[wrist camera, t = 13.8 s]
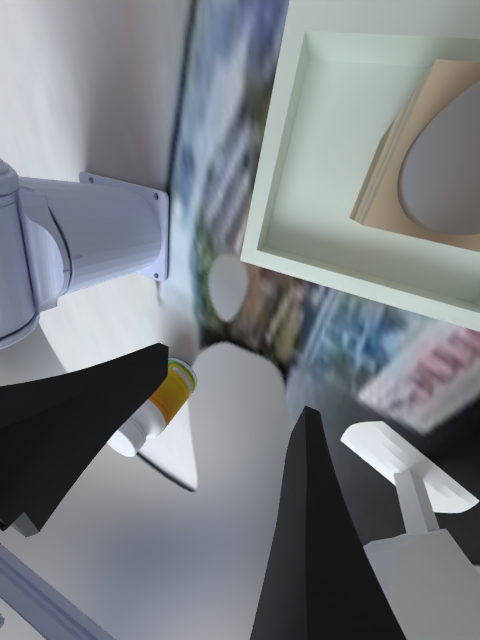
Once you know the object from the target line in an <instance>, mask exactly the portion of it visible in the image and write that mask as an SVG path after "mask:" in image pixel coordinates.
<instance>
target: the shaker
mask: <svg viewBox="0 0 480 640" xmlns="http://www.w3.org/2000/svg"><path fill="white" fill-rule="evenodd" d="M349 218H350V219H352V220H354V221H356V222H358V223H359V224H361V225H363V226H368V227H372V228H376V229H381V230H385V231H389V232H393V233H398V234H402V235H406V236H411V237H415V238H419V239H424V240H428V241H432V242H437V243H441V244H445V245H450V246H454V247H458V248H463V249H467V250H471V251H476V252H480V62H472V61H457V60H442V59H436V60H435V61H434V63H433V64H432V66H431V67H430V69H429V70H428V72H427V73H426V74H425V76H424V77H423V79H422V80H421V82H420V83H419V85H418V86H417V88H416V89H415V90H414V92H413V93H412V95H411V96H410V98H409V99H408V101H407V102H406V104H405V105H404V107H403V108H402V109H401V111H400V112H399V114H398V115H397V117H396V118H395V120H394V121H393V123H392V124H391V125H390V127H389V128H388V130H387V131H386V133H385V134H384V136H383V137H382V139H381V140H380V142H379V145H378V147H377V150H376V152H375V155H374V157H373V160H372V162H371V164H370V167H369V169H368V172H367V174H366V177H365V179H364V182H363V184H362V187H361V189H360V192H359V194H358V197H357V199H356V202H355V204H354V207H353V209H352V212H351V214H350V216H349Z"/></svg>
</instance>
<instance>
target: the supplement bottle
mask: <svg viewBox="0 0 480 640" xmlns="http://www.w3.org/2000/svg"><path fill="white" fill-rule="evenodd" d="M196 385H197V378H196V375H195V373H194V371H193V370H192V368H191V367H190V366H189V365H188V364H186V363H185V362H183V361H182V360H179V359H177V358H168V376H167V377H166V378H165V380H164V381H163V382H162V384H161V385H160V386H159V388H158V389H157V390H156V391H155V392H154V393H153V394H152V396H151V397H150V398H149V399H148V400H147V401H146V402H145V403H144V404H143V405H142V406H141V407H140V408H139V409H138V410H137V411H136V412H135V413H134V414H133V415H132V416H131V417H130V418H129V419H128V420H127V421H126V422H125V423H124V424H123V425H122V426H121V427H120V428H119V429H118V430H117V431H116V432H115V433H114V434H113V436H112V437H111V438H110V439H109V440H108V442H107V443H108V444H109V445H110V446H111V447H112V448H113V449H114V450H116V451H117V452H119V453H120V454H122V455H124V456H129V457H131V456H134V455H135V454H136V453H137V452H138V451H139V449H140V448H141V447H142V446H143V445H144V443H145V441H146V438H147V439H150V438H155V437H157V436H158V435H160V434H161V432H162V431H163V430H164V429H165V428H166V426H167V425H168V424H169V422H170V421H171V420H172V419H173V417H174V416H175V415H176V413H177V412H178V411H179V409H180V408H181V407H182V406H183V404H184V403H185V402H186V400H187V399H188V398H189V396H190V395H191V394H192V393H193V391H194V390H195V388H196Z"/></svg>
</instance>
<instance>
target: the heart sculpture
mask: <svg viewBox="0 0 480 640" xmlns="http://www.w3.org/2000/svg"><path fill="white" fill-rule="evenodd" d="M341 441H342V442H343V443H344V444H346V445H347V446H348V447H349V448H351V449H352V450H353V451H354V452H355V453H357V454H358V455H359V456H360V457H361V458H363V459H364V460H365V461H366V462H368V463H369V464H370V465H371V466H372V467H374V468H375V469H376V470H377V471H378V472H380V473H381V474H382V475H383V476H385V477H386V478H387V479H388V480H389V481H391V482H392V483H393V484H394V485H396V488H397V493H398V497H399V502H400V506H401V510H402V515H403V519H404V524H405V528H406V532H407V534H402V535H399V536H397V537H394V538H389V539H383V540H377V541H372V542H370V543H369V544H367V545H365V546H364V547H363V548H364V550H365V553H366V555H367V557H368V560H369V562H370V564H371V566H372V568H373V570H374V572H375V575H376V577H377V579H378V581H379V583H380V585H381V587H382V590H383V592H384V594H385V596H386V598H387V600H388V602H389V605H390V607H391V609H392V611H393V613H394V615H395V617H396V619H397V621H398V623H399V625H400V627H401V629H402V631H403V633H404V635H405V637H406V639H407V640H480V575H479V573H478V572H477V570H476V569H475V568H474V566H473V565H472V564H471V562H470V561H469V560H468V559H467V557H466V556H465V555H464V553H463V552H462V550H461V549H460V548H459V546H458V545H457V543H456V542H455V541H454V539H453V538H452V536H451V535H450V534H449V532H448V531H447V530H446V529H439V526H438V523H437V520H436V517H435V514H434V512H443V513H460V512H463V511H466V510H468V509H470V508H471V507H473V506H474V505H475V504H477V503H478V502H479V500H478V499H477V498H475V497H474V496H473V495H472V494H471V493H469V492H468V491H467V490H466V489H464V488H463V487H462V486H461V485H460V484H458V483H457V482H456V481H455V480H453V479H452V478H451V477H450V476H449V475H447V474H446V473H445V472H444V471H443V470H441V469H440V468H439V467H438V466H436V465H435V464H434V463H433V462H432V461H430V460H429V459H428V458H427V457H425V456H424V455H423V454H422V453H421V452H419V451H418V450H417V449H416V448H414V447H413V446H412V445H411V444H410V443H408V442H407V441H406V440H405V439H404V438H402V437H401V436H400V435H399V434H397V433H396V432H395V431H394V430H393V429H391V428H390V427H389V426H388V425H386V424H385V423H384V422H383V421H376V422H362V423H357V424H353V425H351V426H350V427H349V428H348V429H347V430H346V431H345V433H344V434H343V436H342V438H341Z"/></svg>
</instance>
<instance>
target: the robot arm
mask: <svg viewBox="0 0 480 640" xmlns="http://www.w3.org/2000/svg"><path fill="white" fill-rule="evenodd" d="M79 180H80V183H77V182H68V181H58V180H48V179H39V178H29V177H19V176H18V175H17V173H16V171H15V170H14V169H13V168H12V167H11V166H10V165H8V164H7V163H5V162H4V161H3V160H2V159H0V349H2V348H5V347H7V346H10V345H12V344H14V343H16V342H18V341H19V340H21V339H23V338H24V337H26V336H27V335H28V334H30V333H31V332H32V331H33V330H34V329H35V327H36V326H37V324H38V322H39V319H40V312H42V311H45V310H48V309H51V308H54V307H57V300H58V298H59V297H60V296H62V295H65V294H68V293H71V292H74V291H77V290H80V289H84V288H87V287H90V286H93V285H96V284H99V283H102V282H106V281H109V280H112V279H115V278H118V277H121V276H124V275H127V274H131V273H137V274H140V275H143V276H146V277H148V278H151V279H154V280H157V281H160V282H164V281H166V280H167V256H168V210H169V197H168V194H167V193H166V192H165V191H161V190H157V189H153V188H149V187H145V186H141V185H137V184H133V183H129V182H124V181H120V180H116V179H112V178H108V177H104V176H100V175H96V174H92V173H87V172H80V173H79ZM93 180H94V182H93ZM157 194H158V196H159V198H158V199H157ZM157 274H158V276H159V277H158V276H157ZM168 350H169V347H168V346H165V345H163V344H161V343H156V344H154V345H151V346H148V347H145V348H143V349H140V350H138V351H135V352H132V353H130V354H127V355H124V356H121V357H119V358H116V359H113V360H110V361H107V362H104V363H101V364H98V365H95V366H92V367H89V368H85V369H82V370H78V371H75V372H71V373H67V374H63V375H59V376H55V377H50V378H45V379H40V380H35V381H30V382H25V383H20V384H14V385H7V386H0V529H1V530H2V531H4V530H6V529H7V528H8V527H9V526H10V525H11V526H12V527H13V528H15V529H16V530H17V531H18V532H20V533H21V534H22V535H24V536H25V537H29V536H32V535H35V534H36V533H38V532H40V530H41V529H42V527H43V526H44V524H45V523H46V521H47V520H48V519H49V517H50V516H51V514H52V513H53V512H54V510H55V509H56V507H57V506H58V505H59V503H60V502H61V500H62V499H63V498H64V496H65V495H66V493H67V492H68V491H69V490H70V488H71V487H72V486H73V484H74V483H75V482H76V480H77V479H78V478H79V476H80V475H81V474H82V472H83V471H84V470H85V469H86V467H87V466H88V465H89V464H90V462H91V461H92V459H94V457H95V456H96V455H97V453H98V452H99V451H100V450H101V448H102V447H103V446H104V445H105V444H106V443H107V442H108V440H109V439H110V438H111V437H112V436H113V434H114V433H115V432H116V431H117V430H118V429H119V428H120V427H121V426H122V425H123V424H124V423H125V422H126V421H127V420H128V419H129V418H130V417H131V416H132V415H133V414H134V413H135V412H136V411H137V410H138V409H139V408H140V407H141V406H142V405H143V404H144V403H145V402H146V401H147V400H148V399H149V398H150V397H151V396H152V394H153V393H154V392H155V391H156V390H157V389H158V388H159V386H160V385H161V384H162V382H163V381H164V380H165V378H166V377H167V376H168ZM0 598H1V599H3V600H4V601H5V602H6V603H7V604H8V605H9V606H10V607H11V608H12V609H14V610H15V611H16V612H17V613H18V614H19V615H20V616H21V617H22V618H23V619H24V620H26V621H27V622H28V623H29V624H30V625H31V626H32V627H33V628H35V630H37V631H38V632H39V633H40V634H41V635H42V636H43V637H44V638H46V640H116V639H114V638H113V637H112V636H111V635H109V634H108V633H107V632H106V631H105V630H103V629H102V628H101V627H100V626H98V625H97V624H96V623H95V622H94V621H93V620H91V619H90V618H89V617H88V616H87V615H85V614H84V613H83V612H82V611H81V610H79V609H78V608H77V607H76V606H75V605H73V604H72V603H71V602H70V601H69V600H67V599H66V598H65V597H64V596H63V595H61V594H60V593H59V592H58V591H57V590H55V589H54V588H53V587H52V586H51V585H49V584H48V583H47V582H45V580H43V579H42V578H41V577H40V576H38V575H37V574H36V573H35V572H34V571H33V570H31V569H30V568H29V567H28V566H27V565H25V564H24V563H23V562H22V561H20V560H19V559H18V558H17V557H16V556H14V555H13V554H12V553H11V552H10V551H8V550H7V549H6V548H5V547H4V546H2V545H1V544H0ZM4 620H5V619H4V618H3V616H2V615H1V614H0V628H1V627H2V625H3V624H4ZM250 640H407V639H406V637H405V635H404V633H403V631H402V629H401V627H400V625H399V623H398V621H397V619H396V617H395V615H394V613H393V611H392V609H391V607H390V605H389V602H388V600H387V598H386V596H385V594H384V592H383V590H382V587H381V585H380V583H379V581H378V579H377V577H376V575H375V572H374V570H373V568H372V566H371V564H370V562H369V560H368V557H367V555H366V553H365V550H364V548H363V546H362V543H361V541H360V539H359V536H358V534H357V532H356V529H355V526H354V524H353V521H352V519H351V516H350V514H349V511H348V509H347V506H346V503H345V500H344V498H343V495H342V492H341V489H340V486H339V483H338V480H337V477H336V474H335V470H334V467H333V464H332V460H331V457H330V453H329V450H328V446H327V442H326V438H325V433H324V429H323V424H322V419H321V414H320V412H319V411H317V410H315V409H312V408H310V407H308V406H305V407H304V409H303V411H302V413H301V415H300V417H299V419H298V421H297V423H296V425H295V427H294V429H293V431H292V433H291V437H290V441H289V445H288V449H287V453H286V459H285V466H284V473H283V480H282V488H281V496H280V503H279V511H278V517H277V523H276V528H275V533H274V538H273V542H272V547H271V551H270V556H269V560H268V565H267V569H266V574H265V578H264V583H263V587H262V591H261V595H260V599H259V604H258V608H257V612H256V616H255V621H254V625H253V629H252V633H251V637H250Z"/></svg>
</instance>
